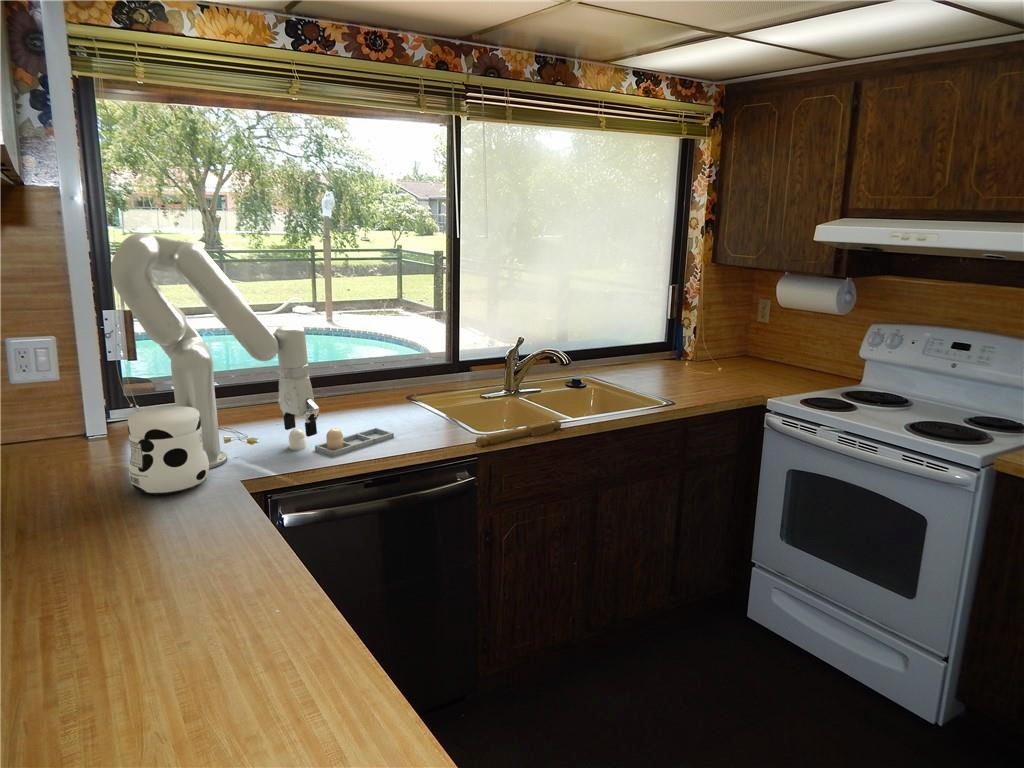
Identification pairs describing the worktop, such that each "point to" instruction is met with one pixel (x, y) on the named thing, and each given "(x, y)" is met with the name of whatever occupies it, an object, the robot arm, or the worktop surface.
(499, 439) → the brown long rod
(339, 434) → the brown egg
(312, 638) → the worktop surface
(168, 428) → the milk container
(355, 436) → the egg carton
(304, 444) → the white egg
